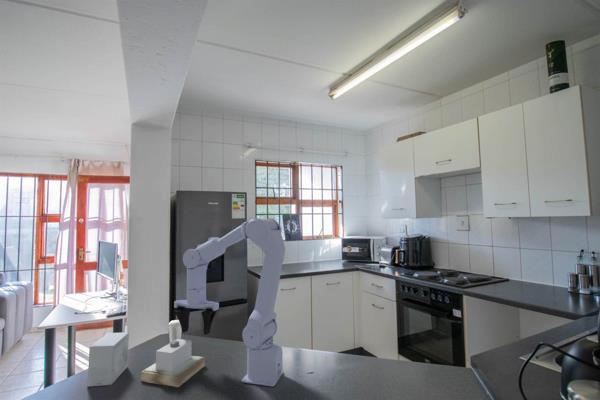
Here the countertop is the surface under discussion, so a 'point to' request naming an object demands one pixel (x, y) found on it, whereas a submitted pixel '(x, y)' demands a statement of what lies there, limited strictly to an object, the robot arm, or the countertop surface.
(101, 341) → the skincare box
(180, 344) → the block
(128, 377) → the countertop surface
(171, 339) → the milkshake
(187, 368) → the stand
